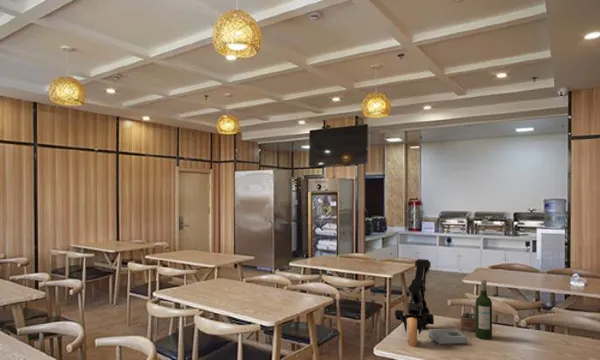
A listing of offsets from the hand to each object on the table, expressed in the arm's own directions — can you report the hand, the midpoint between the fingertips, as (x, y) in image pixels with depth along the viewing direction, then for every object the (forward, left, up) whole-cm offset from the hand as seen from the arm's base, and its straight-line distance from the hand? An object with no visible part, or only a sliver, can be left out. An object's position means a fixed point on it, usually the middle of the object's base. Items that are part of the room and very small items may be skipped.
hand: (412, 332), depth 202 cm
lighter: (-18, +40, -7) cm, 44 cm away
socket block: (-5, +21, -7) cm, 22 cm away
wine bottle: (-8, +43, -7) cm, 44 cm away
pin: (-1, +1, -7) cm, 7 cm away
